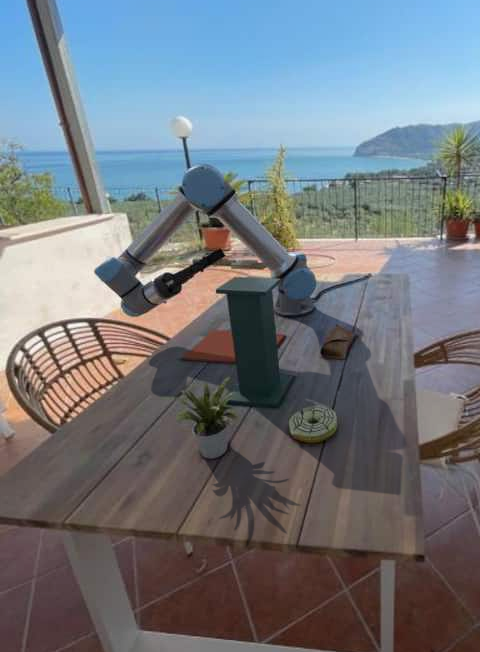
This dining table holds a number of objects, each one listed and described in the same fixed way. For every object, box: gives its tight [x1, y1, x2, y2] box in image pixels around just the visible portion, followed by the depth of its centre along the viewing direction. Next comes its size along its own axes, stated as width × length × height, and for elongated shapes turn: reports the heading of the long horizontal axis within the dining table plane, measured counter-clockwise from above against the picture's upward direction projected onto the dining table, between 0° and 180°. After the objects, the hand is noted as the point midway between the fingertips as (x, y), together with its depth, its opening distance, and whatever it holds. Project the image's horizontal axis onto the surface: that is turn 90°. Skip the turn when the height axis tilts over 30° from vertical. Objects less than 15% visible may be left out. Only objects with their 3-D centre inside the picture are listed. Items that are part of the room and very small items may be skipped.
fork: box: [191, 257, 269, 271], centre depth 115 cm, size 6×23×2 cm, turn 82°
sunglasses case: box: [319, 323, 359, 360], centre depth 126 cm, size 18×7×7 cm, turn 169°
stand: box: [215, 276, 295, 408], centre depth 98 cm, size 14×14×30 cm
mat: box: [181, 329, 286, 365], centre depth 125 cm, size 20×26×1 cm
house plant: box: [161, 375, 238, 459], centre depth 78 cm, size 14×14×16 cm
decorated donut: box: [288, 405, 338, 444], centre depth 87 cm, size 10×11×4 cm
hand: (220, 253), depth 115 cm, fingers closed on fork, 2 cm apart
